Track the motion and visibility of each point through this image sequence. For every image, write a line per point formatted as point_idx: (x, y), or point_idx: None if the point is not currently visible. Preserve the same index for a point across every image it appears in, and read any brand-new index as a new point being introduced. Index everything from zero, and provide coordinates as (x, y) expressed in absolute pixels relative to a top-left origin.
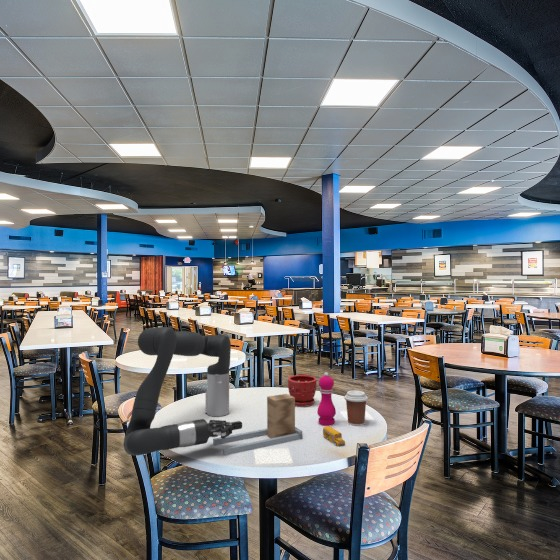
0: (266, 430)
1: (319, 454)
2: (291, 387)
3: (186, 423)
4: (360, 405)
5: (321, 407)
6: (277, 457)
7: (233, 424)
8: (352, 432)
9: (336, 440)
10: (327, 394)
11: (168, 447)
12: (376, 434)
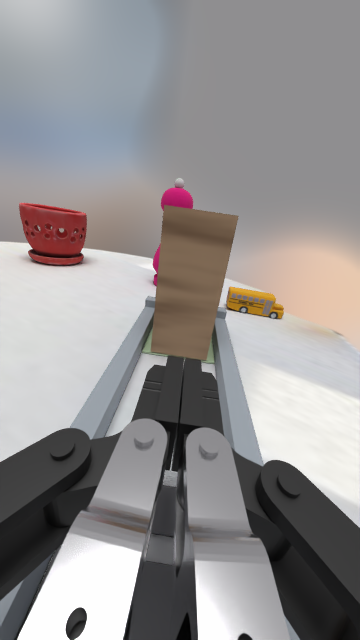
0: (142, 336)
1: (320, 349)
2: (42, 225)
3: None
4: None
5: None
6: (342, 421)
7: (200, 420)
8: (225, 291)
9: (274, 309)
10: None
11: None
12: (246, 287)
